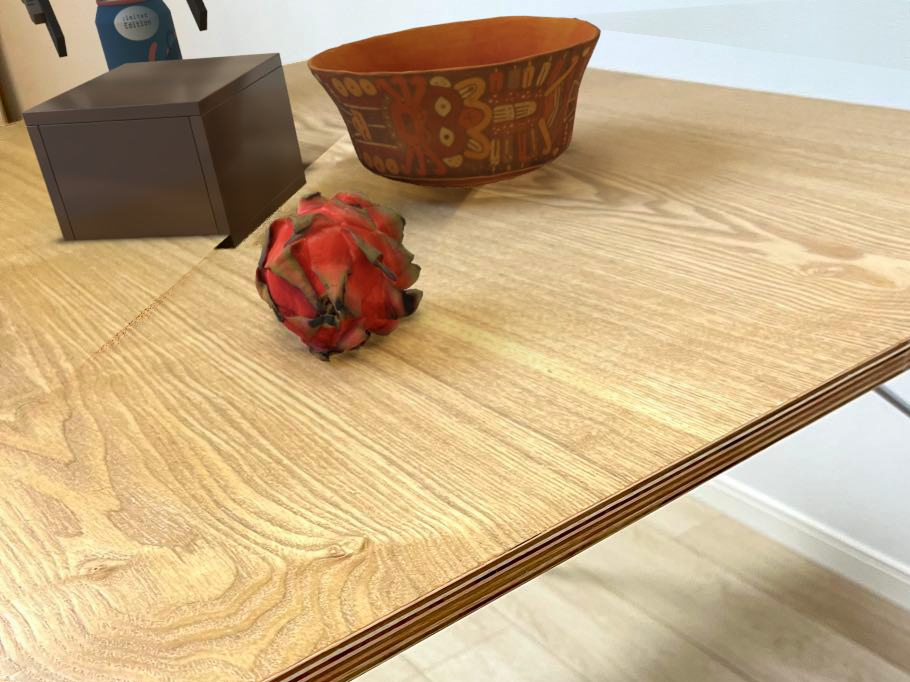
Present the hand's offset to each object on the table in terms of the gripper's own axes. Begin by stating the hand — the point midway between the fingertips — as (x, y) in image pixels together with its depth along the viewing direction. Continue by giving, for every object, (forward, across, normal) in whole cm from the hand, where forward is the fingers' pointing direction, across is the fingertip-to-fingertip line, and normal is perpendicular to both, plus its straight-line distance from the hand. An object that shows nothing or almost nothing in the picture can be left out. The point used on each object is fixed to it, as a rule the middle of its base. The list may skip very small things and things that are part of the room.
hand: (134, 34), depth 109 cm
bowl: (+35, -14, +23) cm, 45 cm away
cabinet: (+30, +6, +18) cm, 36 cm away
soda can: (+8, 0, -4) cm, 9 cm away
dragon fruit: (+52, +5, +40) cm, 65 cm away
